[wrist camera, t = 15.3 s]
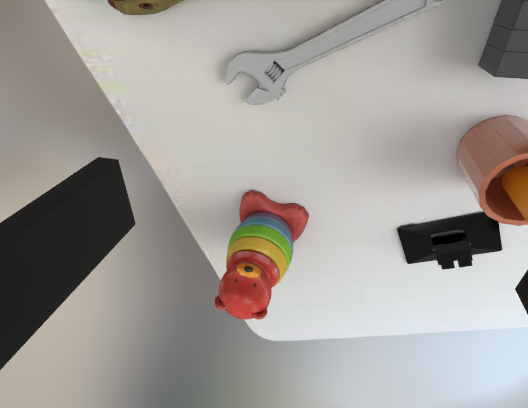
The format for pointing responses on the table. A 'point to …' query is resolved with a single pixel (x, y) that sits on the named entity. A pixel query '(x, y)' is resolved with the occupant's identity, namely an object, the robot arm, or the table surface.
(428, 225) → the build plate
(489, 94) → the table surface
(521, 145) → the pen cup
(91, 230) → the robot arm
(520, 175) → the orange round dowel
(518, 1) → the holder
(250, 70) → the adjustable wrench
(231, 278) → the stacking bear
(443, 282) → the table surface
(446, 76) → the table surface
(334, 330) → the table surface
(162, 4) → the olive green tapered piece
